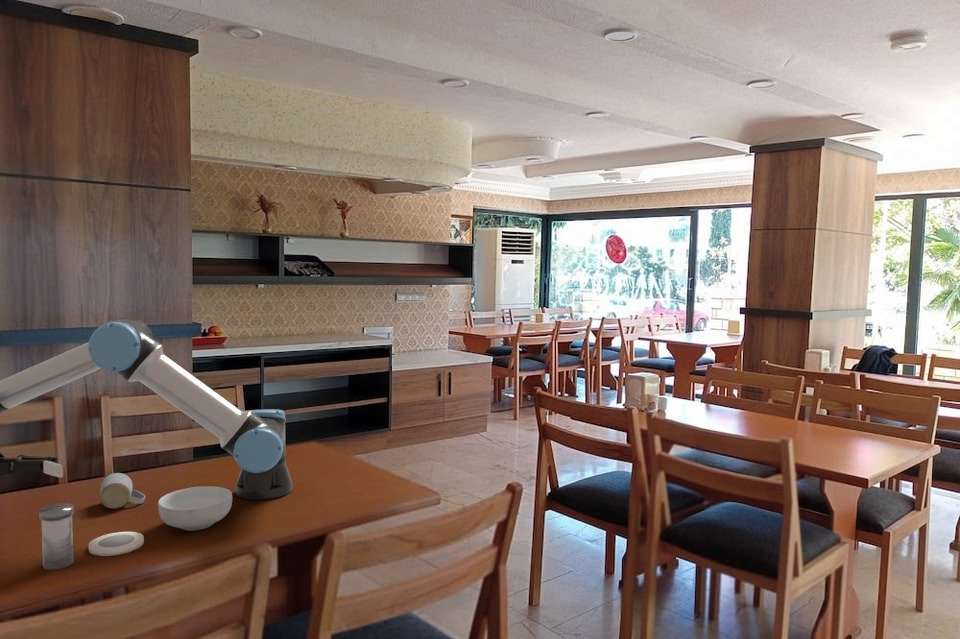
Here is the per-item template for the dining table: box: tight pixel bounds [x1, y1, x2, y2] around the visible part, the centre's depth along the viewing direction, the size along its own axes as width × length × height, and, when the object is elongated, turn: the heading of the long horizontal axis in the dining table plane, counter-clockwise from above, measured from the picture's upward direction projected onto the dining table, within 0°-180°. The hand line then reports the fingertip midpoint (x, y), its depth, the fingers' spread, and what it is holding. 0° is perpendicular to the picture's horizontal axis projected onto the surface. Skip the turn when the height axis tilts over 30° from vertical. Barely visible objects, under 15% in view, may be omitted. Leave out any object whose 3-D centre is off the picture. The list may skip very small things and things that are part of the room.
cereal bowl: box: [157, 485, 233, 532], centre depth 172 cm, size 17×17×7 cm
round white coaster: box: [88, 531, 145, 557], centre depth 159 cm, size 11×11×1 cm
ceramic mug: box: [99, 472, 146, 510], centre depth 186 cm, size 11×8×8 cm
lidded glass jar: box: [38, 503, 75, 571], centre depth 149 cm, size 6×6×12 cm
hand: (29, 478), depth 153 cm, fingers open, 13 cm apart
